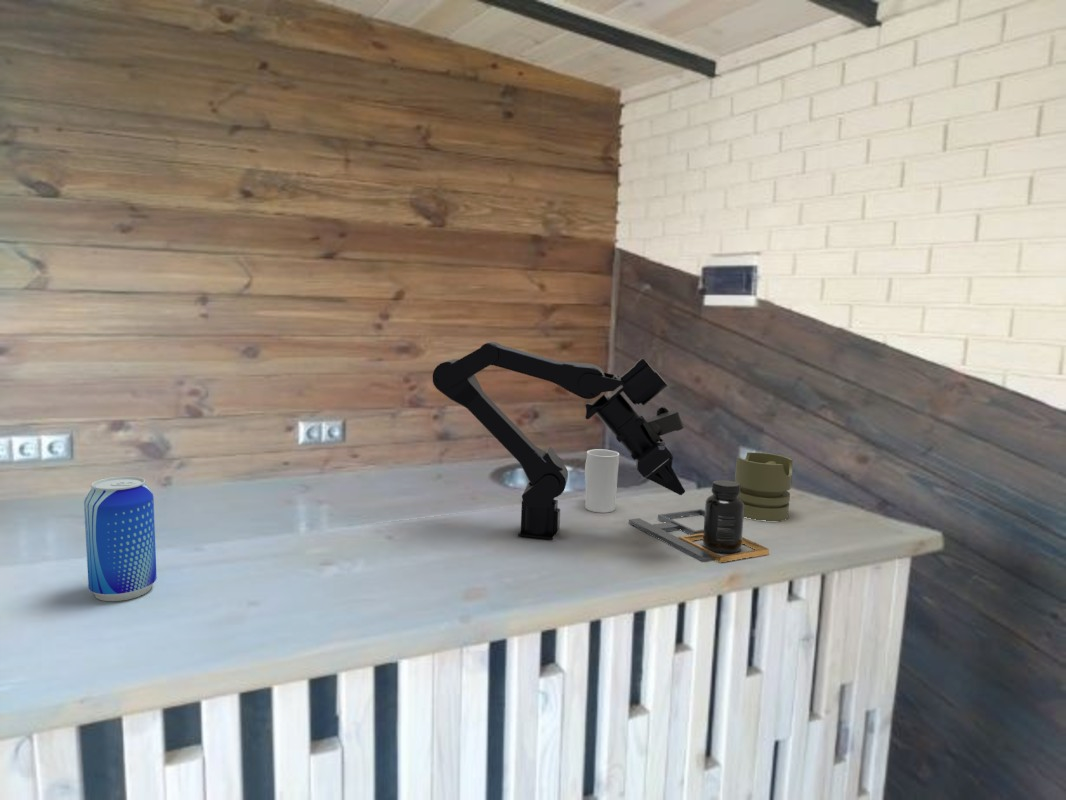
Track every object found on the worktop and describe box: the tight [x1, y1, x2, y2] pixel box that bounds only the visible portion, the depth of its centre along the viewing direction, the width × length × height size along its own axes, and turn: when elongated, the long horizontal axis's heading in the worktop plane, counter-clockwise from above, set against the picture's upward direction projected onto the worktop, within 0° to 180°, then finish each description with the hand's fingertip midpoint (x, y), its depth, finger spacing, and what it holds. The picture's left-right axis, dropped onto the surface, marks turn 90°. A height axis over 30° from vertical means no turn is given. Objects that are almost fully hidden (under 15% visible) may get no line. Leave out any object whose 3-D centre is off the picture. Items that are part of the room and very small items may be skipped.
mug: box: [584, 448, 620, 514], centre depth 152 cm, size 10×7×12 cm, turn 25°
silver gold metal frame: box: [628, 508, 770, 564], centre depth 136 cm, size 18×24×1 cm
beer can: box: [83, 475, 158, 602], centre depth 101 cm, size 8×8×16 cm
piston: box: [734, 451, 794, 522], centre depth 151 cm, size 11×12×11 cm
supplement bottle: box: [702, 479, 745, 554], centre depth 129 cm, size 7×7×12 cm
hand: (679, 487), depth 129 cm, fingers open, 9 cm apart
